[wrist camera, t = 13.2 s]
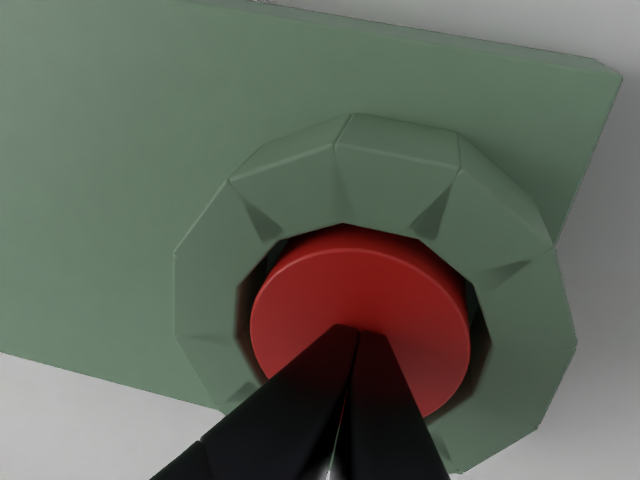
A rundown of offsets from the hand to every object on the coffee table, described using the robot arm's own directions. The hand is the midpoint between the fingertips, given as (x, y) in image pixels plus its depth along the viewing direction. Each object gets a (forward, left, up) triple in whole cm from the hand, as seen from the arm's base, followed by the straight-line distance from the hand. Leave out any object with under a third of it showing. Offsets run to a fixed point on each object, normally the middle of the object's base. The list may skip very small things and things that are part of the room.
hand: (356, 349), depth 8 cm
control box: (+3, 0, -4) cm, 5 cm away
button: (0, 0, -2) cm, 2 cm away
